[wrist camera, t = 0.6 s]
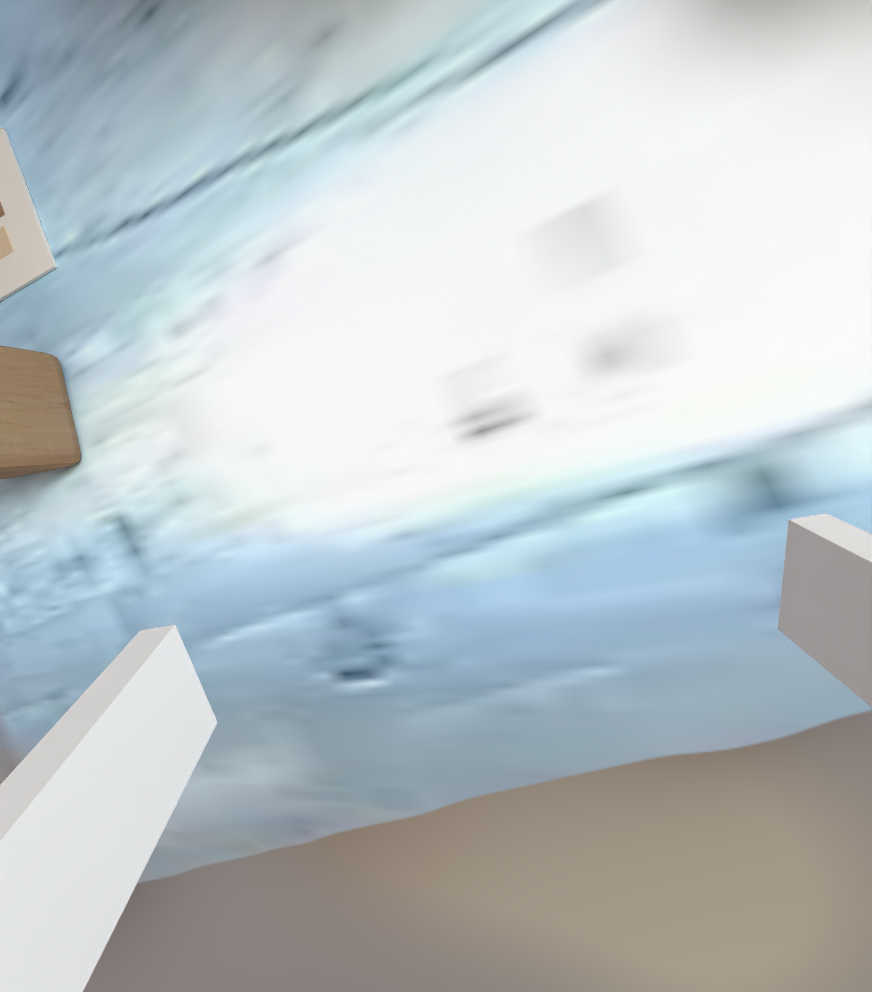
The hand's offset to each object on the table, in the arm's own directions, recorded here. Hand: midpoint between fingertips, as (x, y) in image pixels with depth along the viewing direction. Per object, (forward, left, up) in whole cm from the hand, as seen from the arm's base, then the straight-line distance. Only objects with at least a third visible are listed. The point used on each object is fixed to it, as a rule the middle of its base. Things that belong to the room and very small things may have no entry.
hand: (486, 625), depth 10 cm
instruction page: (-30, -42, -24) cm, 57 cm away
